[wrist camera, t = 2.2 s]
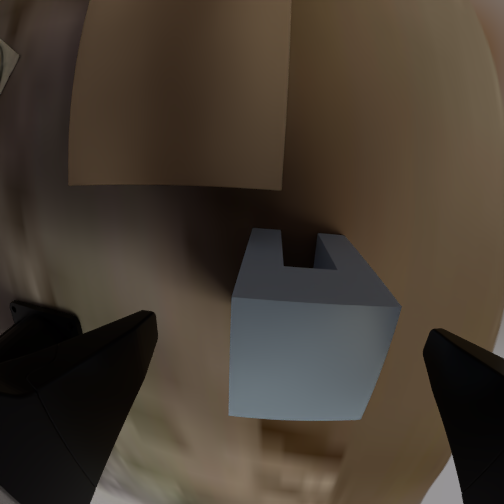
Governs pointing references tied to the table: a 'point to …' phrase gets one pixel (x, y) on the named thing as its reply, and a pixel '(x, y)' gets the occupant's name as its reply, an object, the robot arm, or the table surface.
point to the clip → (307, 332)
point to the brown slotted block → (181, 93)
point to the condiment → (6, 63)
